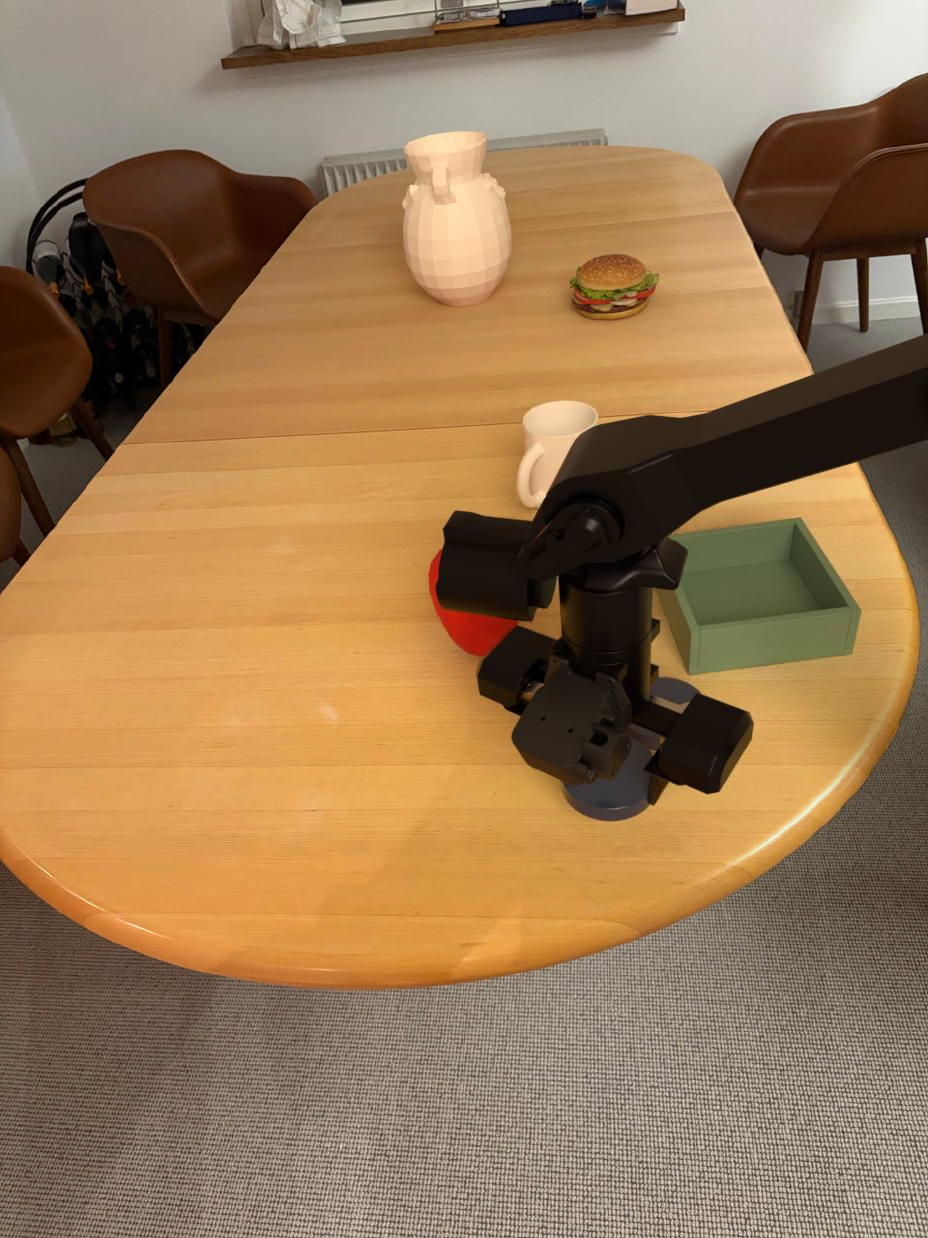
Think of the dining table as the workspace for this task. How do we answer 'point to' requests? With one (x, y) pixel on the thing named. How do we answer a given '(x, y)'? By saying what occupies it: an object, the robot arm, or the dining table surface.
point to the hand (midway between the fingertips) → (608, 779)
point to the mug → (549, 445)
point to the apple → (468, 622)
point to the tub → (758, 599)
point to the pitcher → (455, 219)
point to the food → (612, 287)
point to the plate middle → (666, 690)
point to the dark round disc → (615, 790)
